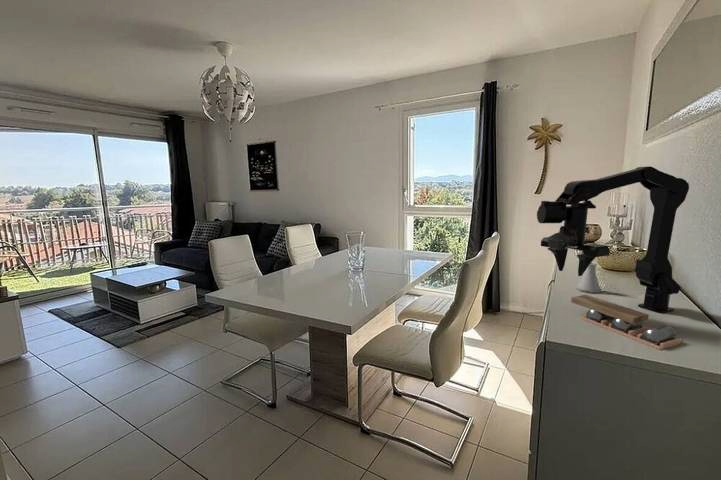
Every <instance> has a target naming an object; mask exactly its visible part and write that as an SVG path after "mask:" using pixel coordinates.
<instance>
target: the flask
mask: <svg viewBox="0 0 721 480" xmlns="http://www.w3.org/2000/svg"><path fill="white" fill-rule="evenodd" d="M597 266H598V264H597V263H595V262H591V263H590V265H589V266H588V267H587V269H586V270H585V272H584V273H583V275H582V276H581V279H580V281H579V283H578V285H577V286H576V290H579V291H581V292H584V293H589V294H594V293H600V292H601V291H602V290H601V286H600V283H599V280H598V276H597V273H596V272H597V271H596V267H597Z"/></svg>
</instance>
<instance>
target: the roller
mask: <svg viewBox="0 0 721 480" xmlns="http://www.w3.org/2000/svg"><path fill="white" fill-rule="evenodd" d="M649 329H650V330H646V331H644V332H643V333H642V338H643V339H642V340H645V341H647V342H650V343H652V344H655V345H660V343H662V342H666V341H670V340H673V339H675V338H677V332H676V330H675V329H674V328H673V327H672V326H669V325H663V326H658V327H654V328H649Z"/></svg>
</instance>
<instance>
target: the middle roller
mask: <svg viewBox="0 0 721 480" xmlns="http://www.w3.org/2000/svg"><path fill="white" fill-rule="evenodd" d="M611 326H612V328H613V329H616V330H619V331H621V332H624V333H627V332H628V331H631V330H635V329H639V328H641V327H642V326H643V327H644V321H643V322H639V323H635V324H632V323H629V322H626V321H623V320H620V319H615V320H613V321H612V322H611Z"/></svg>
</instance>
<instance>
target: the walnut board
mask: <svg viewBox="0 0 721 480" xmlns="http://www.w3.org/2000/svg"><path fill="white" fill-rule="evenodd" d="M570 302H571V304H574V305H578V306H581V307H584V308H586V309H589V310H595V311H597V312H600V313H603V314H606V315H609V316H612V317H614V318H617V319H620V320H623V321H626V322H629V323H632V324H635V323H639V322H643V323H644V322H647V321H649V315H650V314H649V313H646V312H642V311H640V310H636V309H633V308H629V307H626V306H623V305H619V304H617V303H614V302H611V301H607V300H605V299H602V298H598V297H595V296H591V295H588V294H581V295H576V296H572V297H571V300H570Z"/></svg>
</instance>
